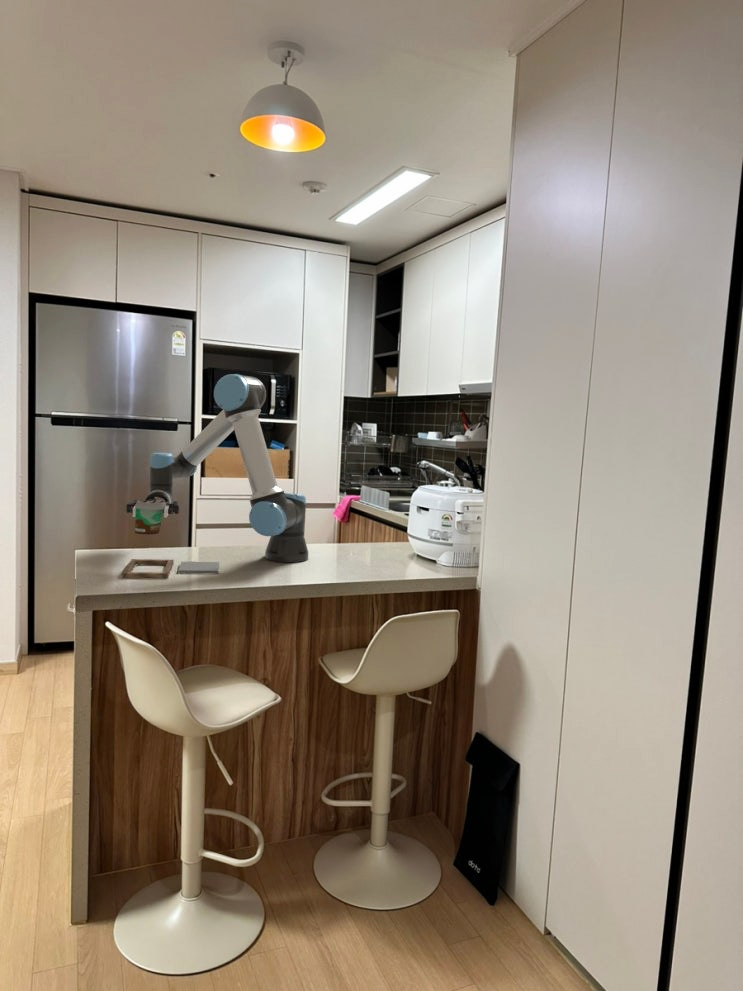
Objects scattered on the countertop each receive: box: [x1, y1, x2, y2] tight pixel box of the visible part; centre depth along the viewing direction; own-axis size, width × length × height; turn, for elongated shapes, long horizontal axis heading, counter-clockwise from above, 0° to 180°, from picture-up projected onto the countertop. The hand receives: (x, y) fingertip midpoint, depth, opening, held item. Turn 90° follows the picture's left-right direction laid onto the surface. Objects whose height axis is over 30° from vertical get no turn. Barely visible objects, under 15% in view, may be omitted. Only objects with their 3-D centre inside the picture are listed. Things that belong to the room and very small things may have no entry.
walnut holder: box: [121, 558, 175, 579], centre depth 213 cm, size 13×19×2 cm
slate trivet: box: [177, 561, 220, 574], centre depth 219 cm, size 12×12×1 cm
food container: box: [134, 497, 166, 536], centre depth 211 cm, size 12×6×10 cm, turn 170°
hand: (149, 512), depth 206 cm, fingers closed on food container, 8 cm apart
